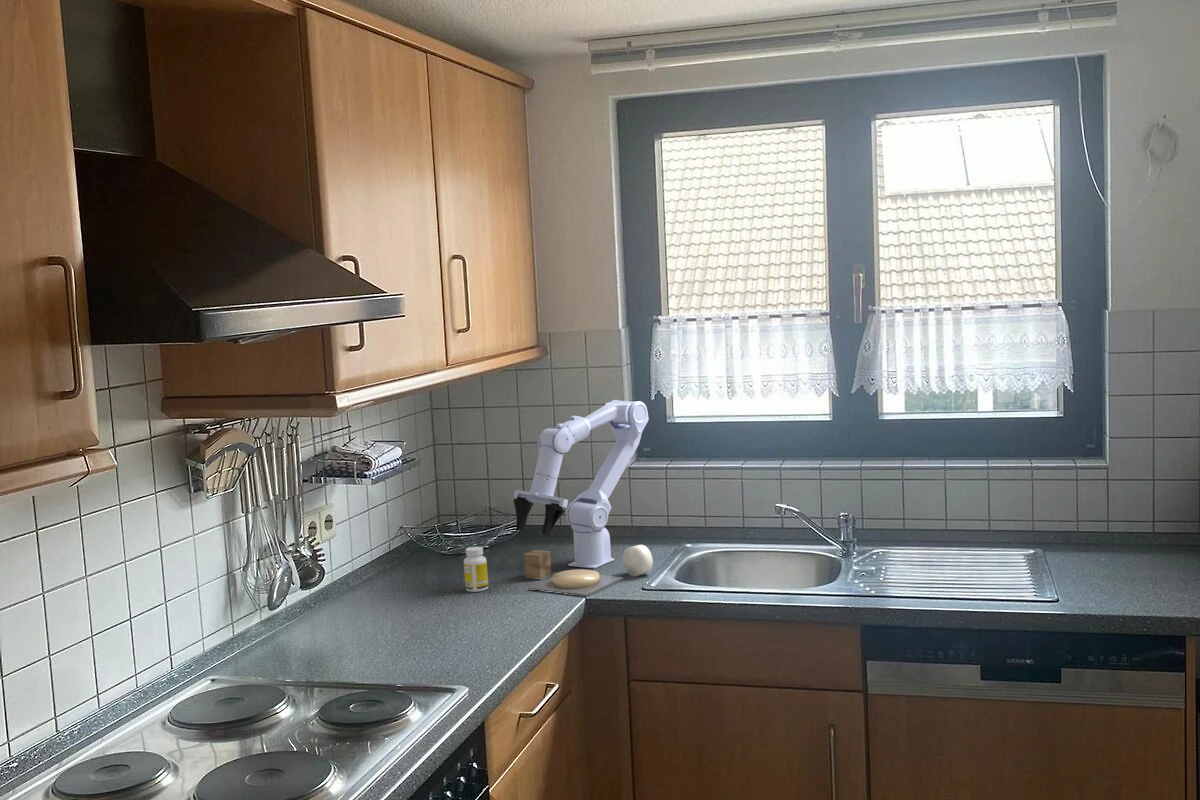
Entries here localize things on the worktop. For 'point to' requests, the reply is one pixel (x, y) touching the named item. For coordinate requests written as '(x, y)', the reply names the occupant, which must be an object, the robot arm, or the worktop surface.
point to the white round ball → (637, 560)
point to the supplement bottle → (475, 570)
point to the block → (537, 564)
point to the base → (581, 590)
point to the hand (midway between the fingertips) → (532, 532)
